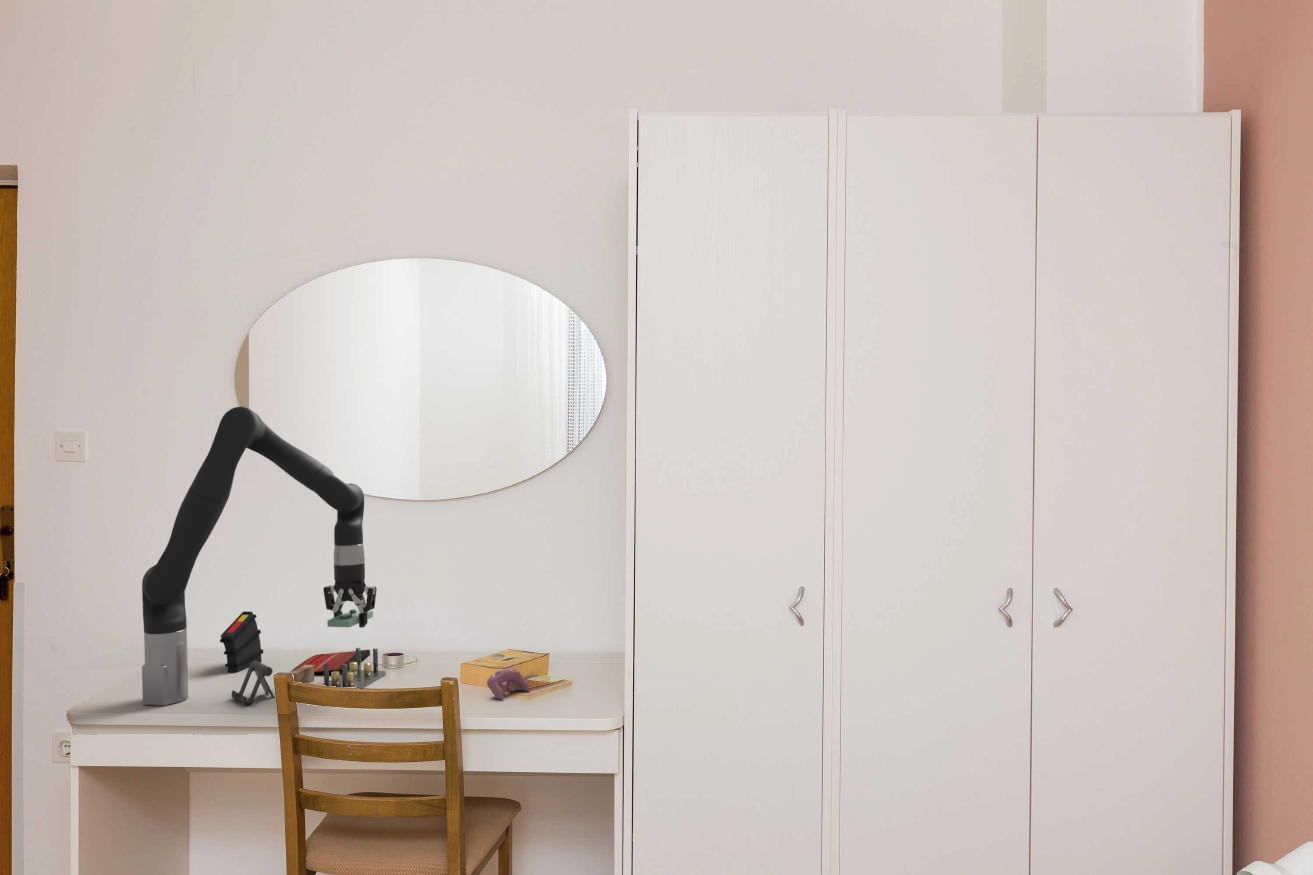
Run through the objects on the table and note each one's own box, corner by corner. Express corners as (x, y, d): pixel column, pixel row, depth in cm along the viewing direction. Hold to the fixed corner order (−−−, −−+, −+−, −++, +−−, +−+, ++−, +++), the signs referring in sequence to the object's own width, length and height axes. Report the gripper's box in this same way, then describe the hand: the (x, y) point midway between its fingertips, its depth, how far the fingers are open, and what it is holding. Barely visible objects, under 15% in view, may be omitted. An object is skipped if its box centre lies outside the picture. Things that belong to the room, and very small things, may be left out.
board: (349, 627, 231) (349, 617, 231) (327, 626, 232) (327, 617, 232) (372, 616, 243) (372, 607, 243) (351, 616, 244) (351, 607, 244)
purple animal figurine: (521, 694, 231) (512, 667, 233) (532, 689, 228) (522, 662, 230) (490, 704, 223) (481, 676, 225) (501, 699, 221) (492, 671, 222)
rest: (296, 689, 233) (296, 673, 233) (288, 688, 233) (287, 673, 233) (314, 680, 241) (314, 664, 241) (306, 679, 241) (305, 664, 241)
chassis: (352, 693, 228) (352, 665, 228) (316, 691, 230) (315, 664, 230) (385, 674, 245) (385, 648, 245) (351, 673, 247) (350, 647, 247)
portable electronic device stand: (231, 699, 225) (230, 665, 225) (263, 692, 231) (262, 659, 231) (244, 706, 219) (244, 672, 219) (278, 699, 225) (277, 665, 224)
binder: (370, 648, 266) (347, 668, 245) (370, 656, 266) (347, 677, 245) (314, 652, 266) (286, 672, 245) (314, 660, 266) (287, 681, 245)
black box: (270, 653, 263) (254, 610, 256) (243, 685, 251) (226, 641, 245) (258, 652, 263) (242, 610, 257) (231, 684, 252) (214, 640, 245)
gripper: (315, 563, 235) (317, 629, 235) (367, 564, 232) (369, 630, 232) (331, 558, 242) (333, 622, 242) (382, 559, 239) (383, 623, 240)
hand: (350, 626), depth 237 cm, fingers closed on board, 6 cm apart
